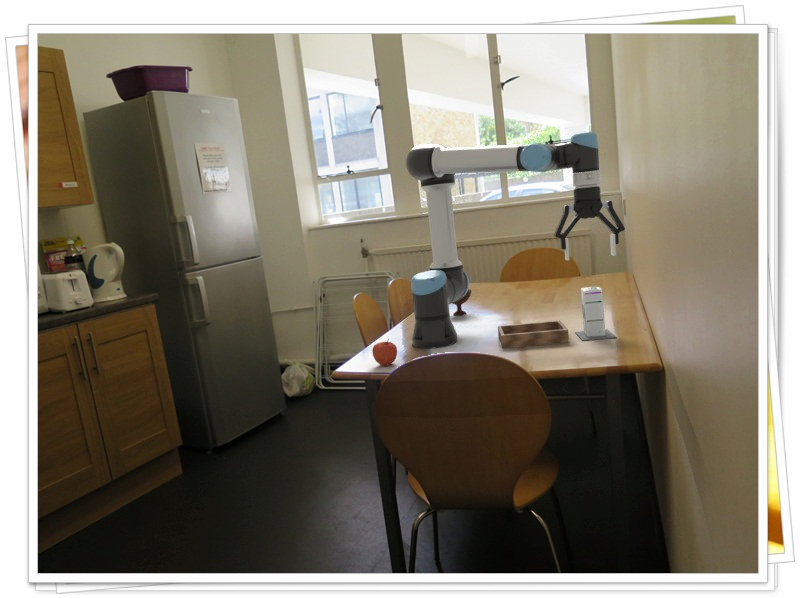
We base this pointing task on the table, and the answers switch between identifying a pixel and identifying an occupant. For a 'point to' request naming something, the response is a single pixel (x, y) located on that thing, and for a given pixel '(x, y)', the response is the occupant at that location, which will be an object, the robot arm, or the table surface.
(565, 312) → the table surface
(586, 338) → the mat
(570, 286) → the table surface
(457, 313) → the ice cream bowl
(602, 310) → the syrup box
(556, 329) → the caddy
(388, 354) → the apple
